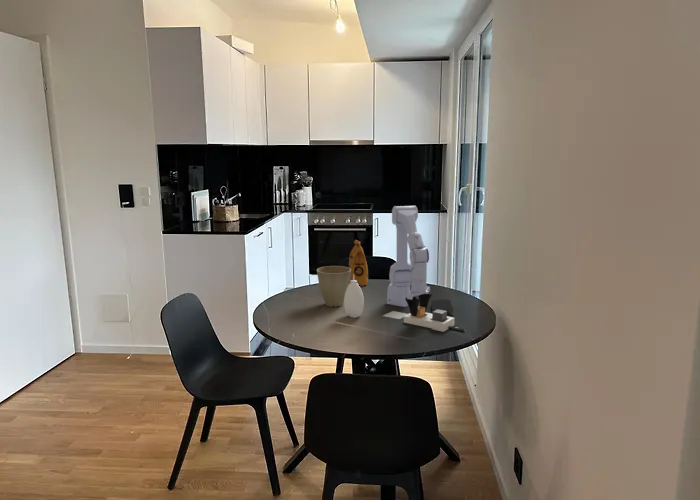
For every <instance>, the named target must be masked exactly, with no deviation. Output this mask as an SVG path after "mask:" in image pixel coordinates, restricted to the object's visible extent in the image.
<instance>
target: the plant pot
mask: <svg viewBox="0 0 700 500" xmlns="http://www.w3.org/2000/svg"><path fill="white" fill-rule="evenodd" d="M316 274H317V280H318V284H319V289H320V292H321V295H322V298H323V300H324V303H325V305H326V306H327V305H328V306H327V307H329V306H334V307H333V308H336V307H337V306H339V307H341V305H342V306H344V297H345V292H346V290H347V287H348V285H349V284H350V274H351V269H350V268H349V266H348V267H347V266H343V265H342V266H341V265H329V266H321V267H318V268H317V269H316ZM337 308H338V307H337Z"/></svg>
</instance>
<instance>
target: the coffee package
mask: <svg viewBox="0 0 700 500" xmlns="http://www.w3.org/2000/svg"><path fill="white" fill-rule="evenodd" d="M353 243H354V246H353V247H352V249H351V251H350V253H349V257H348V258H349V259H348V268H350V269H351V274H350V280H349V282H350V281H351V280H353V274H354V280H356V281H357V283H358V284H359V285H360V287H364V285H367V286H368V281H369V269H368V268H369V267H368V264H367V263H368V262H367V260H366V256H365V253H364V249H363V247H362V246H361V241H359V240H357V239H355V240H354V241H353Z"/></svg>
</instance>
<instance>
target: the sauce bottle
mask: <svg viewBox="0 0 700 500" xmlns="http://www.w3.org/2000/svg"><path fill="white" fill-rule="evenodd" d="M363 293H364V292H363V290H362V288H361V286H359V284H358V283H357V281H356V280H354V274H353V280H351V281H350V280H349V285H348V287H347V290H346V292H345V297H344V302H343V306H344V309H345V312H346V314H347V316H349V317H350V318H359V316H360V315H362V313H363V311H364V307H365V298H364V294H363Z"/></svg>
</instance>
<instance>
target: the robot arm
mask: <svg viewBox="0 0 700 500" xmlns="http://www.w3.org/2000/svg"><path fill="white" fill-rule="evenodd" d="M418 215H419V210H418V207H417V206H416V205H403V206H402V205H400V206H399V205H397V206H396V205H394V206H393V207H392V209H391V221H392V225H395V229H396V262H394V263H393V264H392V265H391V266H390V268H389V273H388V275H389V276H388V277H389V283H388V286H387V291H386V292H387V293H386V294H387V296H386V297H387V299H386V301H387V302H386V305H387V304H388V305H392V306H398V307H402V308H405V307H408V309H409V313H411V316H417V310H418V306H421V307H425V312H427V309H428V305H429V302H430V299H431V297H432V296H433V293H432V292H430V291H431V286H427V269H428V268H427V267H428V265H427V263H429V261H430V252H429V248H428V247H427V246H426V245H424V241H423V238H422V235H421V233H419V232H418V229H417V220H418V218H419V216H418ZM408 248H409V261H410V263H408ZM417 297H418V298H417Z"/></svg>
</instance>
